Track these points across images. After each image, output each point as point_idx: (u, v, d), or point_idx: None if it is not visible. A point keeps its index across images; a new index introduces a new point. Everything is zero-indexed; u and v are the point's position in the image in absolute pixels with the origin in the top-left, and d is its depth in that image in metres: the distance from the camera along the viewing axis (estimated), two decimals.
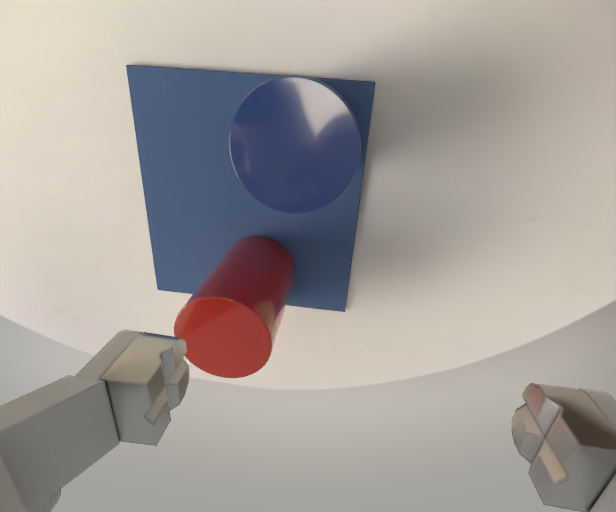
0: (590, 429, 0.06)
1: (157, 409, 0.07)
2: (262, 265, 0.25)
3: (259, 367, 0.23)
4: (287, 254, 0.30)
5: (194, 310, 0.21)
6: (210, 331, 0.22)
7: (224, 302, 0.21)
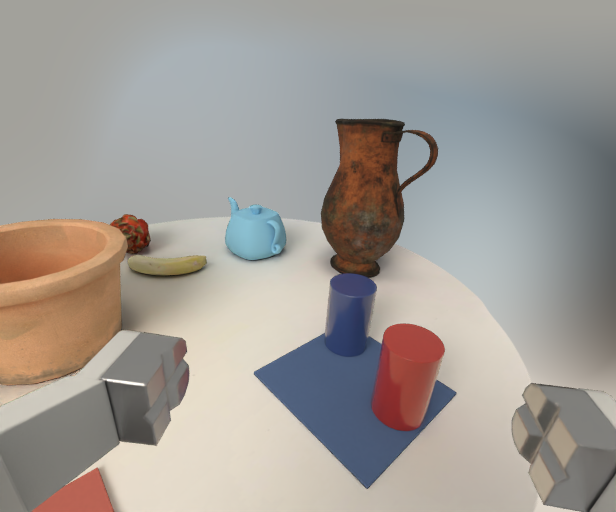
0: (590, 429, 0.06)
1: (157, 409, 0.07)
2: None
3: (440, 341, 0.37)
4: None
5: (388, 338, 0.37)
6: (404, 341, 0.37)
7: (392, 327, 0.39)
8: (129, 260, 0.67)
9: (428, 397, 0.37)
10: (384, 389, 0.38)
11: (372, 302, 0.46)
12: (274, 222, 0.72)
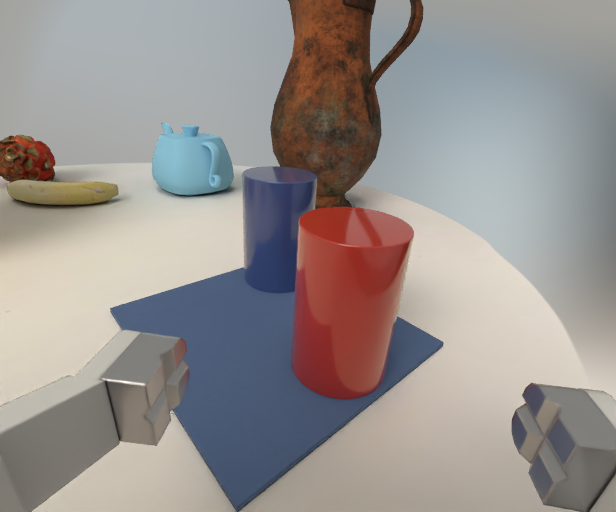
0: (590, 429, 0.06)
1: (157, 409, 0.07)
2: None
3: (408, 225, 0.20)
4: None
5: (308, 218, 0.20)
6: (338, 223, 0.19)
7: (322, 209, 0.21)
8: (8, 185, 0.50)
9: (383, 332, 0.19)
10: (301, 318, 0.20)
11: (308, 199, 0.29)
12: (210, 143, 0.55)
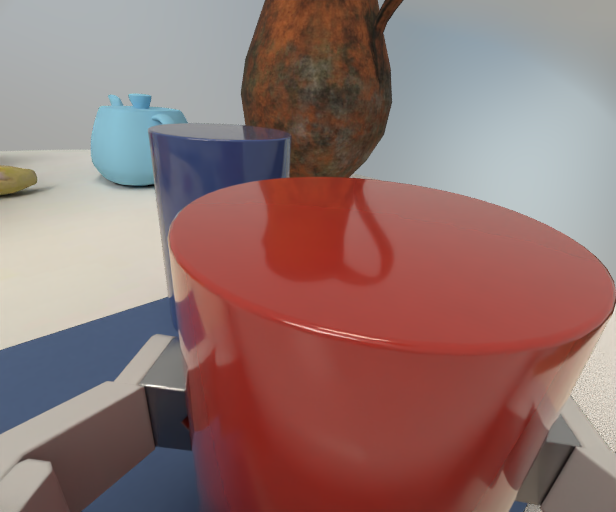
0: None
1: None
2: None
3: (545, 225, 0.06)
4: None
5: (221, 203, 0.06)
6: (316, 217, 0.06)
7: (278, 181, 0.08)
8: None
9: None
10: None
11: (272, 176, 0.15)
12: (164, 115, 0.41)
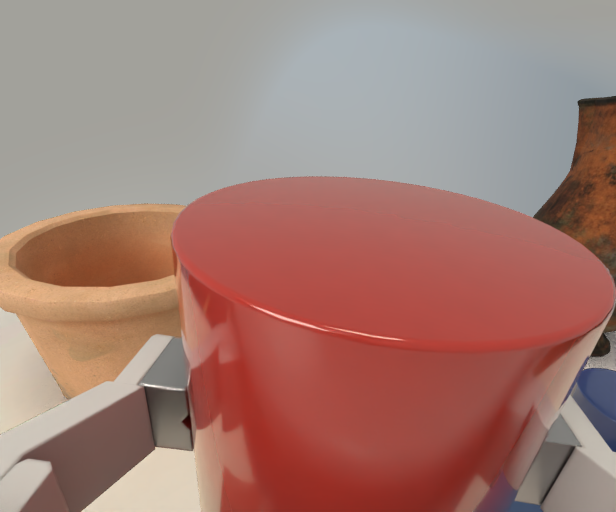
0: None
1: None
2: None
3: (546, 225, 0.06)
4: None
5: (223, 202, 0.06)
6: (317, 216, 0.06)
7: (279, 180, 0.08)
8: None
9: None
10: None
11: None
12: None
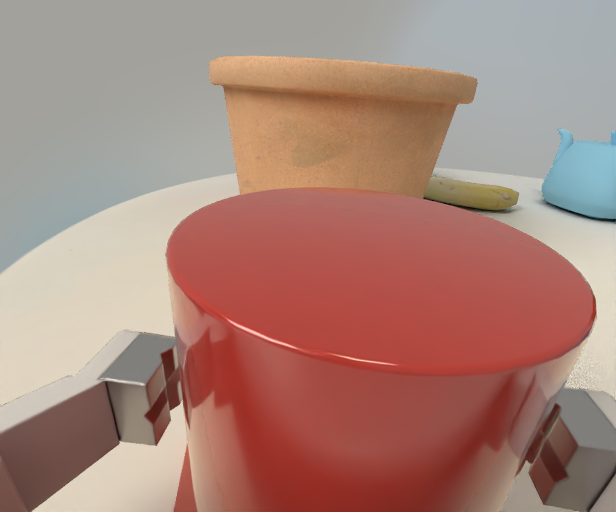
0: (590, 429, 0.06)
1: (157, 409, 0.07)
2: None
3: (533, 239, 0.06)
4: None
5: (218, 217, 0.06)
6: (310, 232, 0.06)
7: (274, 192, 0.08)
8: None
9: None
10: None
11: None
12: None
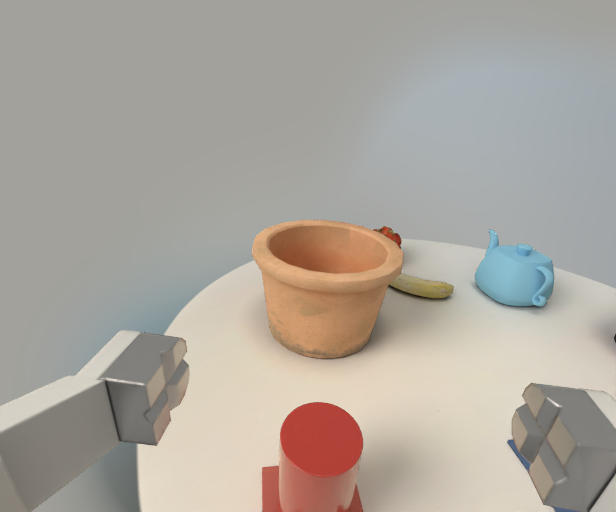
0: (590, 429, 0.06)
1: (157, 409, 0.07)
2: None
3: (360, 434, 0.27)
4: None
5: (288, 429, 0.27)
6: (309, 435, 0.27)
7: (299, 409, 0.29)
8: None
9: None
10: (283, 499, 0.27)
11: None
12: (547, 270, 0.61)
